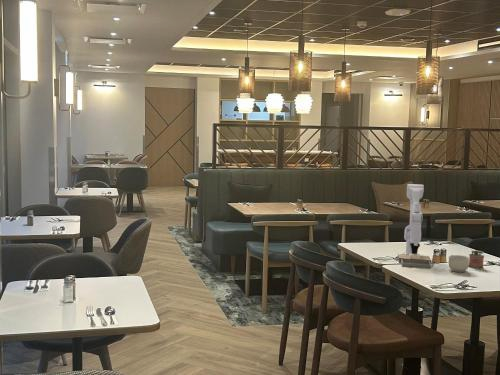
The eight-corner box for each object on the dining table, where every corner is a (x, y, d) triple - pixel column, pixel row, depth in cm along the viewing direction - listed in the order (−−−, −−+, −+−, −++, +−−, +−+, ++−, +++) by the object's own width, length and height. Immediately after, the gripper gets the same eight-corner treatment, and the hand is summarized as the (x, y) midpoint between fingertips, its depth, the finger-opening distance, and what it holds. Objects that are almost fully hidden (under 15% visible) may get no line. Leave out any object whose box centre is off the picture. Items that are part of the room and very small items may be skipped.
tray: (400, 262, 352) (401, 259, 351) (429, 264, 349) (429, 261, 348) (401, 266, 342) (402, 262, 342) (431, 268, 339) (431, 264, 339)
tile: (409, 256, 356) (409, 253, 356) (419, 257, 355) (419, 254, 355) (409, 258, 352) (409, 255, 351) (420, 259, 350) (420, 255, 350)
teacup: (470, 273, 330) (472, 259, 329) (451, 272, 330) (452, 258, 329) (462, 267, 344) (463, 254, 343) (443, 267, 344) (444, 253, 343)
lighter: (467, 267, 346) (469, 250, 345) (468, 266, 349) (470, 249, 348) (482, 269, 342) (484, 251, 341) (483, 268, 345) (484, 250, 344)
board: (397, 257, 364) (398, 253, 364) (428, 260, 361) (428, 256, 361) (399, 262, 352) (399, 258, 352) (430, 264, 349) (431, 260, 348)
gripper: (407, 230, 364) (406, 252, 366) (409, 234, 350) (408, 257, 351) (419, 231, 363) (418, 253, 364) (422, 235, 349) (420, 258, 350)
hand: (414, 255), depth 358 cm, fingers closed
